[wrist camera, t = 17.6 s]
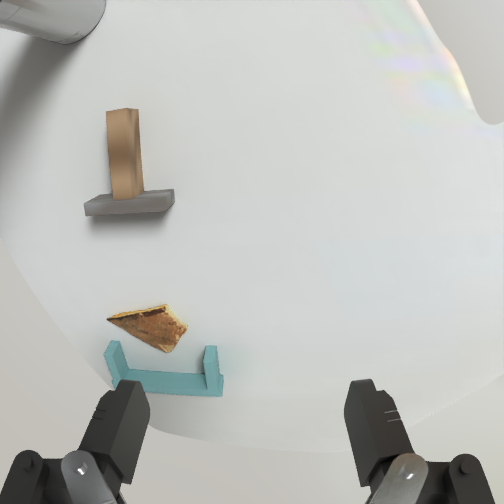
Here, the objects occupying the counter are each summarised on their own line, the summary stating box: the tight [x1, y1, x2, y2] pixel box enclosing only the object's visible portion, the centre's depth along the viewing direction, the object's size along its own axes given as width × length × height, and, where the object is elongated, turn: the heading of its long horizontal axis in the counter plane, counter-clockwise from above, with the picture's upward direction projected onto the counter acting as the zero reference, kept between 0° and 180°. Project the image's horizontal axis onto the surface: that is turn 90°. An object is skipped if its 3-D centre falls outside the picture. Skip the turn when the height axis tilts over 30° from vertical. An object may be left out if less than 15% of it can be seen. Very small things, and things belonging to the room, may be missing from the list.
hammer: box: [84, 108, 175, 216], centre depth 32 cm, size 12×10×4 cm
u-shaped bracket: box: [104, 341, 224, 397], centre depth 45 cm, size 8×18×4 cm, turn 91°
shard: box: [107, 304, 188, 352], centre depth 43 cm, size 11×8×2 cm
